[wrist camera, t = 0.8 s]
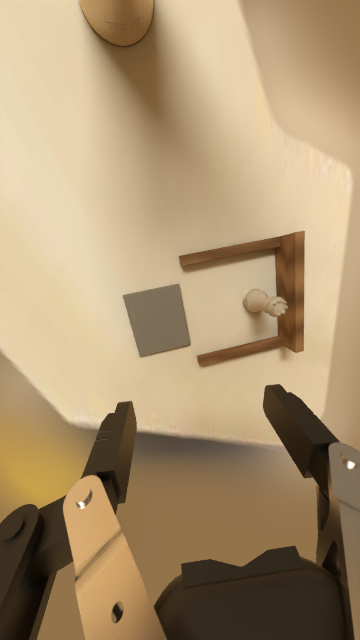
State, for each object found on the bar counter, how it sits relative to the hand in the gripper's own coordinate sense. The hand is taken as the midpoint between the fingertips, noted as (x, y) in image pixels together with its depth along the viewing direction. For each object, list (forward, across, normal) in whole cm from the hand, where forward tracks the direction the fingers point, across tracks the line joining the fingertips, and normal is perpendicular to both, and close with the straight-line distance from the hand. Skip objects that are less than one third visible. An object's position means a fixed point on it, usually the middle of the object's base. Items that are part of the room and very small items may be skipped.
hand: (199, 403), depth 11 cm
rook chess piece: (+26, -15, +2) cm, 30 cm away
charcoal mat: (+24, +4, +4) cm, 24 cm away
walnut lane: (+25, -11, +2) cm, 28 cm away
